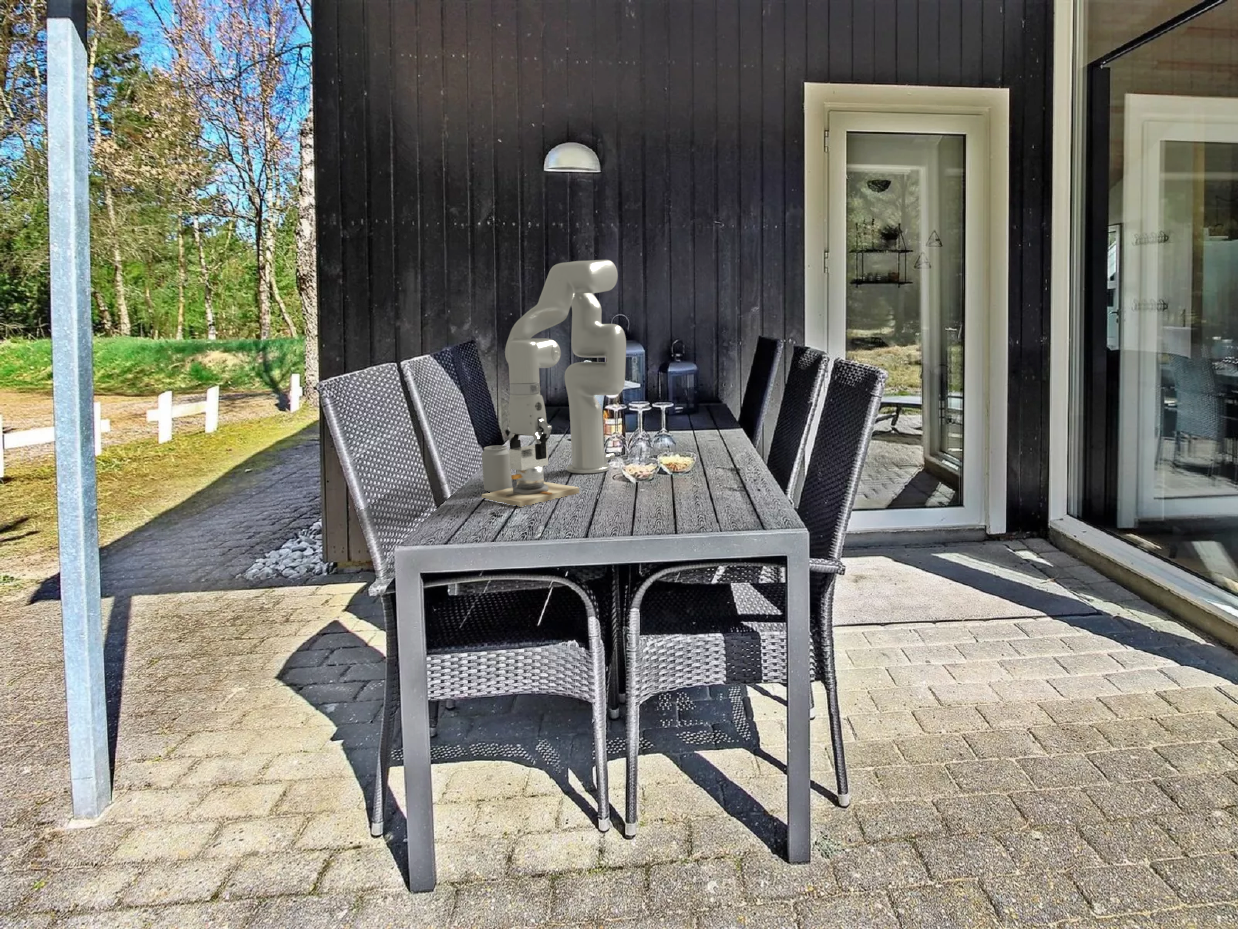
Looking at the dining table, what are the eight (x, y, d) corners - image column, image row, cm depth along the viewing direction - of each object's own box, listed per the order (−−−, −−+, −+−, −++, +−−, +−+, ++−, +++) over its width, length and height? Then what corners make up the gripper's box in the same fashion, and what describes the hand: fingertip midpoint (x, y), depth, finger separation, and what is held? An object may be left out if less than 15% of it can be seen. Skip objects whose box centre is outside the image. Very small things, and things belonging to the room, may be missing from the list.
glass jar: (534, 481, 229) (532, 443, 227) (552, 484, 224) (550, 446, 222) (504, 488, 222) (502, 449, 220) (522, 491, 217) (520, 451, 215)
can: (515, 487, 236) (512, 444, 233) (509, 493, 228) (506, 448, 226) (487, 488, 236) (485, 444, 234) (481, 494, 229) (477, 449, 227)
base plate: (540, 486, 236) (540, 477, 236) (579, 493, 226) (578, 483, 226) (482, 500, 222) (481, 490, 221) (520, 507, 212) (520, 497, 211)
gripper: (559, 390, 216) (562, 458, 219) (514, 387, 227) (517, 452, 230) (536, 392, 210) (540, 462, 213) (491, 390, 222) (495, 456, 225)
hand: (528, 457), depth 222 cm, fingers open, 9 cm apart
